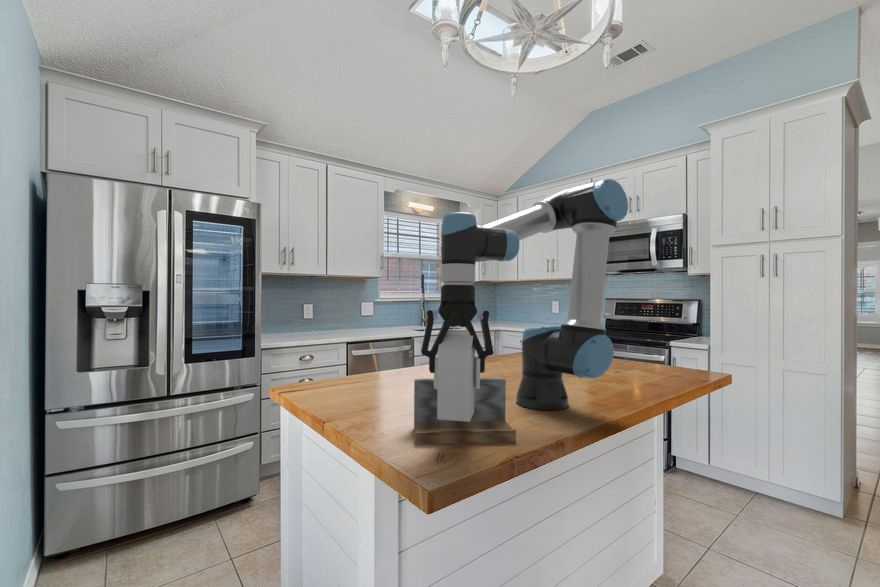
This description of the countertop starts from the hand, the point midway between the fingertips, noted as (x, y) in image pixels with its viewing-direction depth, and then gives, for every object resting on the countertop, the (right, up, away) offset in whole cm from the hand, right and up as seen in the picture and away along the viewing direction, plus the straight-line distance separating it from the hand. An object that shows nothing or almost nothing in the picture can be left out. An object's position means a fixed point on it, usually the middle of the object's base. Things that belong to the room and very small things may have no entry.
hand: (456, 387), depth 90 cm
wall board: (+2, -12, +5) cm, 13 cm away
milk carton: (0, -7, 0) cm, 7 cm away
